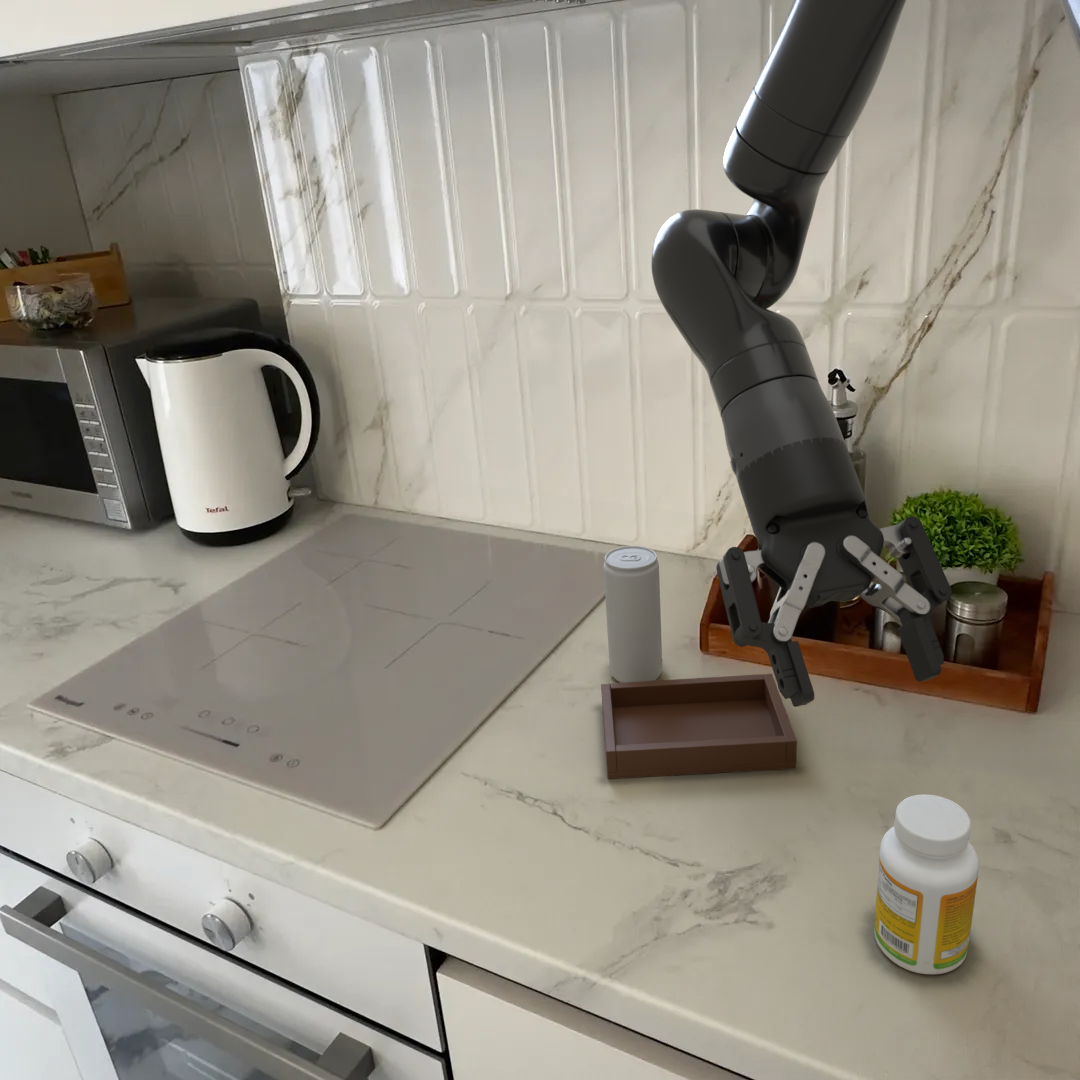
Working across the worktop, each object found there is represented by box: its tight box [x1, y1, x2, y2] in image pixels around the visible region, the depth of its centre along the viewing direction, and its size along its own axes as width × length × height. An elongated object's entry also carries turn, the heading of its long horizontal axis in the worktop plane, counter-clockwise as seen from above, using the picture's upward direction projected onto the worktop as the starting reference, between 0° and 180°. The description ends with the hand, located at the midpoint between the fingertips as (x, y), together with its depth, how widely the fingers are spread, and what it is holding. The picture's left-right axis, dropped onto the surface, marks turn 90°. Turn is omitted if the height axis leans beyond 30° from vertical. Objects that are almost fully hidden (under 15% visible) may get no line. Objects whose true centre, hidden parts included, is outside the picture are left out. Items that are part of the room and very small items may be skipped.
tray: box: [600, 673, 798, 780], centre depth 80 cm, size 15×10×3 cm, turn 89°
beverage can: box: [603, 545, 663, 683], centre depth 87 cm, size 5×5×12 cm
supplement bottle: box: [873, 793, 979, 975], centre depth 58 cm, size 5×5×10 cm
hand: (868, 690), depth 61 cm, fingers open, 8 cm apart
